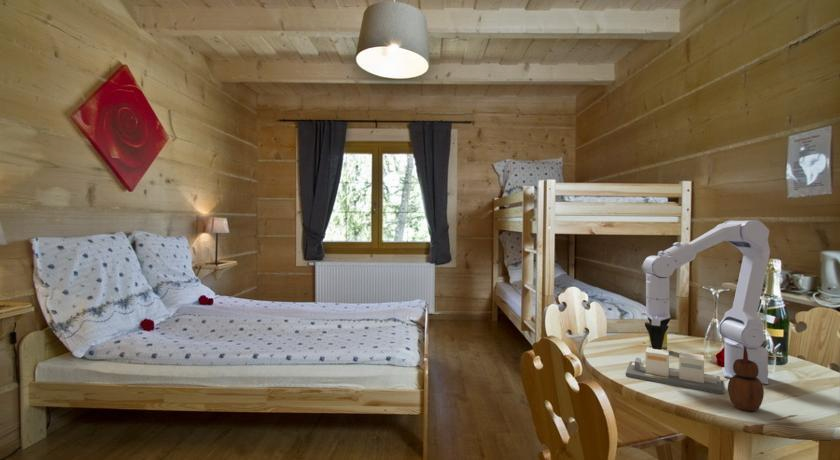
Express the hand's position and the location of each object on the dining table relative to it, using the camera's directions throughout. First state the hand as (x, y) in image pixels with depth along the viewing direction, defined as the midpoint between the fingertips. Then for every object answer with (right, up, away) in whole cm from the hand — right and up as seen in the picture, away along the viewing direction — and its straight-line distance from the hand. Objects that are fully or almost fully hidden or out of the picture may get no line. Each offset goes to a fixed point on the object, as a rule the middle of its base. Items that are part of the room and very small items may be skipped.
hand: (657, 345), depth 114 cm
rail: (+3, -9, -2) cm, 9 cm away
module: (0, -8, 0) cm, 8 cm away
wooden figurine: (+9, -9, -20) cm, 24 cm away
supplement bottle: (+14, -8, +23) cm, 28 cm away
